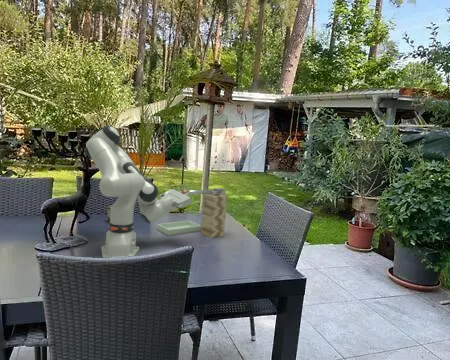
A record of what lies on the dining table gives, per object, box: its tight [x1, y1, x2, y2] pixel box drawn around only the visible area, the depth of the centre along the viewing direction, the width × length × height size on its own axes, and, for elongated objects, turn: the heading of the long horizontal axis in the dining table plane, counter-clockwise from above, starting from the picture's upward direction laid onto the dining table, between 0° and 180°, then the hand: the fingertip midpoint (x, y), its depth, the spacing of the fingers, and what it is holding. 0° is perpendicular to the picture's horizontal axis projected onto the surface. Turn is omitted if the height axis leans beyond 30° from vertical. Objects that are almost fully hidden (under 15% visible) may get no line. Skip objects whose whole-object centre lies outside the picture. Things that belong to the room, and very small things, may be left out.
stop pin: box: [181, 189, 211, 196], centre depth 211 cm, size 18×2×2 cm, turn 127°
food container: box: [106, 205, 112, 223], centre depth 234 cm, size 12×6×10 cm, turn 47°
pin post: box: [200, 187, 228, 239], centre depth 225 cm, size 10×10×29 cm
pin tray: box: [156, 220, 202, 237], centre depth 229 cm, size 24×14×4 cm, turn 130°
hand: (188, 191), depth 207 cm, fingers closed on stop pin, 2 cm apart
